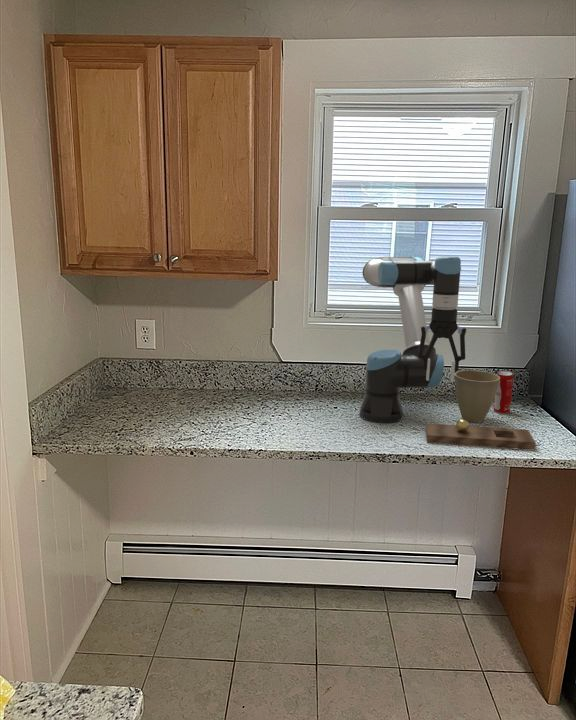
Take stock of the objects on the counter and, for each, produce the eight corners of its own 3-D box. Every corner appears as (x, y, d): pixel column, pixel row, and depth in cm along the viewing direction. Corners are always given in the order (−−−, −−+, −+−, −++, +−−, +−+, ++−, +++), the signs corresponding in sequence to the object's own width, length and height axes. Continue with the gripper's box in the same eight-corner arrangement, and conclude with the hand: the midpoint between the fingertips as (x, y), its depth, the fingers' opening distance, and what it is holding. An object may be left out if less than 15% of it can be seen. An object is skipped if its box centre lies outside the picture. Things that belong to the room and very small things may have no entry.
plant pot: (484, 429, 193) (488, 384, 189) (443, 419, 203) (447, 375, 199) (502, 418, 204) (507, 375, 200) (463, 409, 213) (466, 367, 210)
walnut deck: (426, 442, 182) (427, 435, 181) (425, 430, 192) (426, 423, 192) (534, 450, 176) (535, 442, 176) (527, 437, 187) (527, 429, 186)
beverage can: (507, 409, 214) (511, 370, 210) (512, 415, 207) (516, 374, 204) (491, 408, 214) (494, 369, 211) (495, 414, 208) (499, 374, 204)
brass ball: (456, 433, 183) (457, 421, 182) (455, 428, 187) (455, 416, 186) (469, 433, 182) (470, 421, 181) (467, 429, 186) (468, 417, 185)
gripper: (412, 308, 175) (407, 381, 180) (480, 310, 171) (473, 385, 177) (411, 305, 182) (407, 375, 187) (476, 307, 178) (470, 378, 184)
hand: (439, 380), depth 182 cm, fingers open, 7 cm apart
